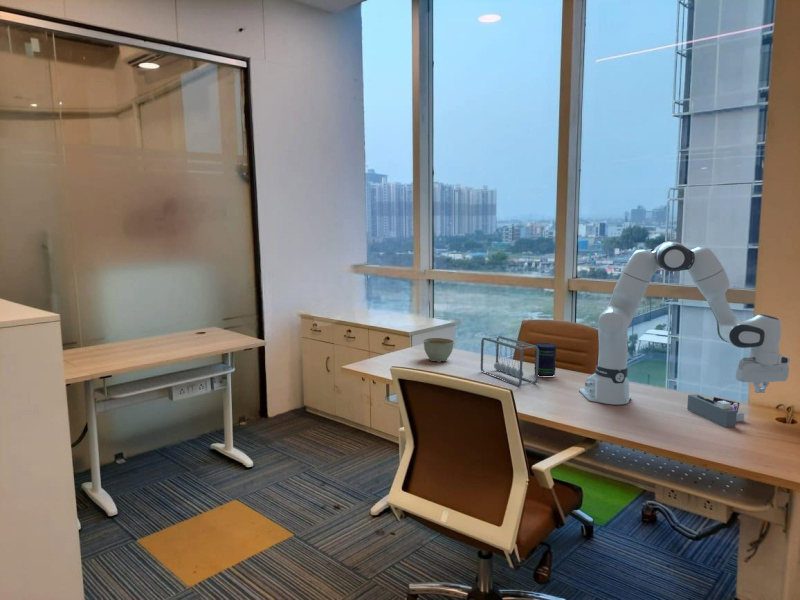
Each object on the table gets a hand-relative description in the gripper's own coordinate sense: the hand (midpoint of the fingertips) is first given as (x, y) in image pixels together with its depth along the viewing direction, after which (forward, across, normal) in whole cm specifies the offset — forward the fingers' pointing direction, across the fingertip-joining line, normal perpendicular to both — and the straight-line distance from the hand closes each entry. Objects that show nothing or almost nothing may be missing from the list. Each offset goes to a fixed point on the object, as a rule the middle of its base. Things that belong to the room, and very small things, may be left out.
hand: (759, 392), depth 209 cm
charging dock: (+9, -17, 0) cm, 19 cm away
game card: (+9, -13, +1) cm, 16 cm away
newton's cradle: (+11, -76, +64) cm, 100 cm away
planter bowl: (+12, -100, +103) cm, 144 cm away
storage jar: (+11, -56, +67) cm, 88 cm away
